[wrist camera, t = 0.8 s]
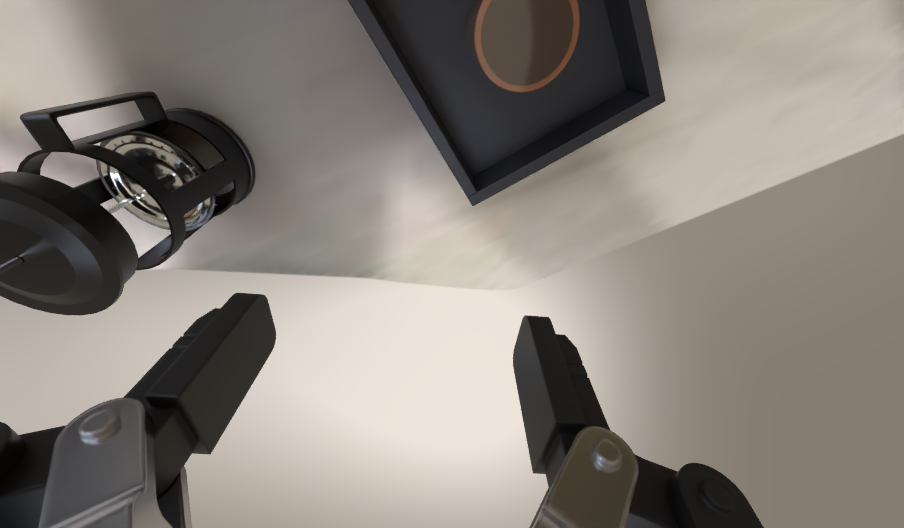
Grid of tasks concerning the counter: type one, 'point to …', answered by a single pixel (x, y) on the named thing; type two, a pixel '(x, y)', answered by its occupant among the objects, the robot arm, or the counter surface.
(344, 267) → the counter surface
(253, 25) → the counter surface
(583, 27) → the dark square tray
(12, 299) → the french press
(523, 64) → the brown cup
